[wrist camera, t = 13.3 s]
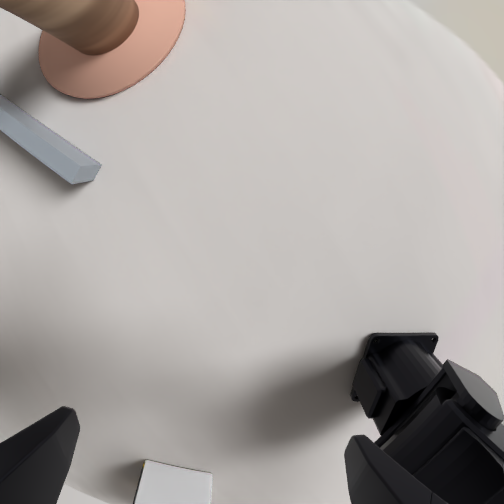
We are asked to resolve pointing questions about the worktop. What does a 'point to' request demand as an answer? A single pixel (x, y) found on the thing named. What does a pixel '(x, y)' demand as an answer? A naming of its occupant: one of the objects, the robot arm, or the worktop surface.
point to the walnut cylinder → (80, 21)
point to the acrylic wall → (46, 144)
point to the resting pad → (114, 54)
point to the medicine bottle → (172, 485)
